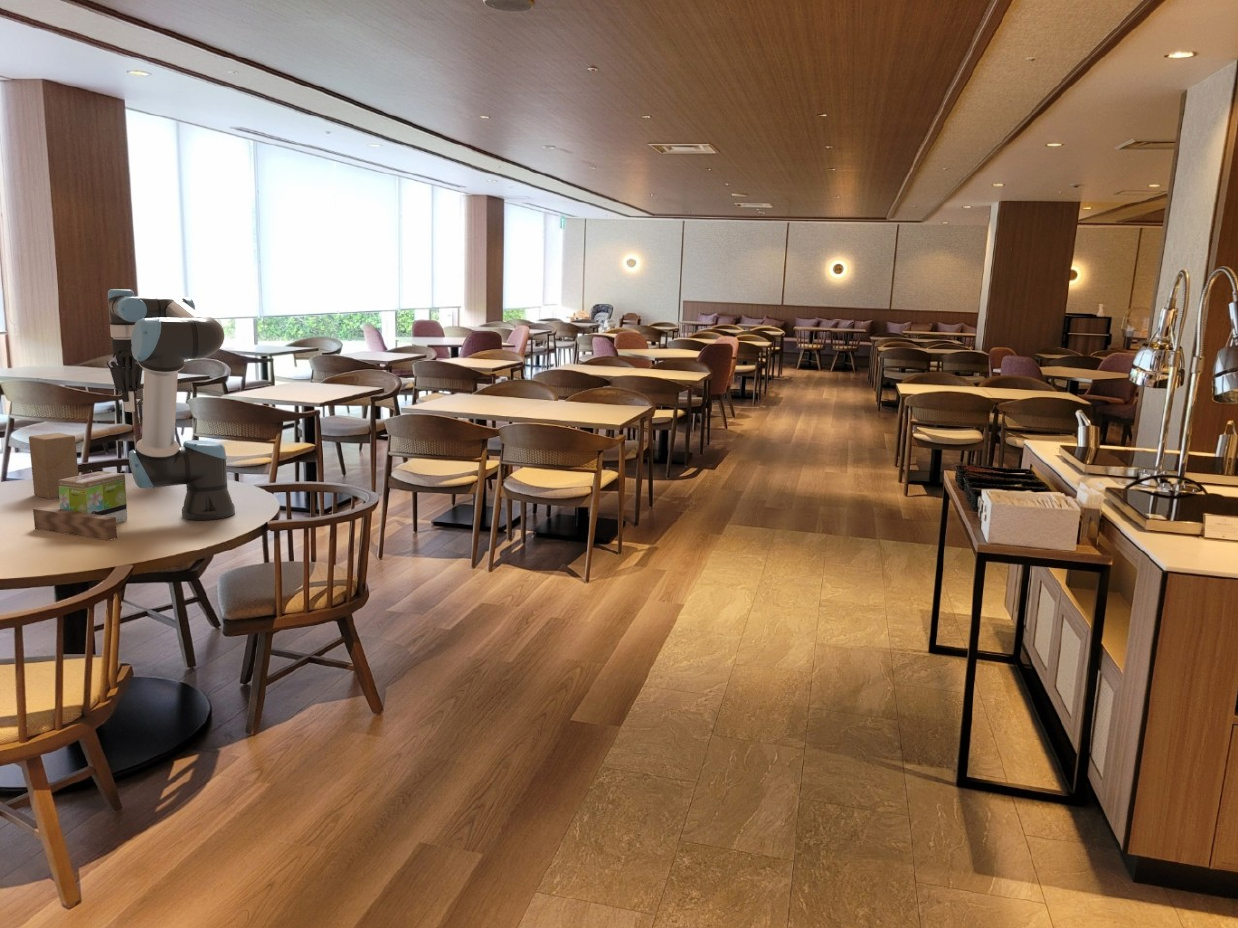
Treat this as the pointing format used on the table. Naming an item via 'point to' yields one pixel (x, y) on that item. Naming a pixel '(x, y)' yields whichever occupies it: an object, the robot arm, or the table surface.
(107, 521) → the walnut plank
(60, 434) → the wooden block
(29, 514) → the table surface
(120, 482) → the tea box
